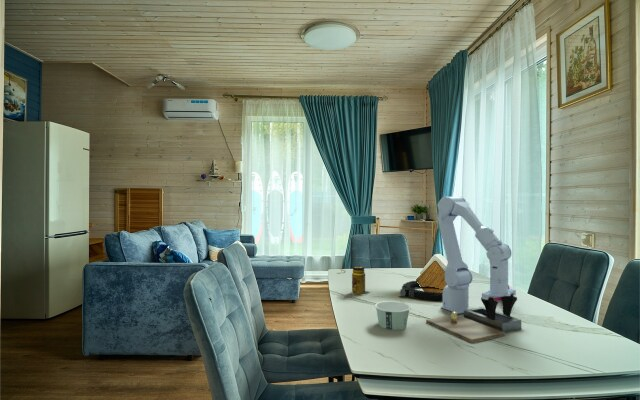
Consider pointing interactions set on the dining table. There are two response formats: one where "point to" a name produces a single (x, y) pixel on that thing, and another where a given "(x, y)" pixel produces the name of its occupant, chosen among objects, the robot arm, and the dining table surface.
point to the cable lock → (419, 292)
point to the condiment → (358, 281)
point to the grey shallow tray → (499, 323)
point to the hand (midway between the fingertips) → (499, 317)
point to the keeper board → (465, 328)
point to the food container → (392, 314)
